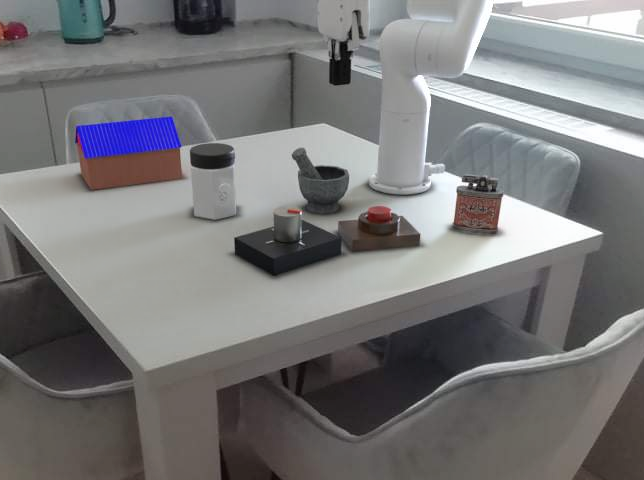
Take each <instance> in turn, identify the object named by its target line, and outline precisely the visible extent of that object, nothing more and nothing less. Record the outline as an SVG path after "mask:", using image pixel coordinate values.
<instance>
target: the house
mask: <svg viewBox="0 0 644 480" xmlns="http://www.w3.org/2000/svg"><path fill="white" fill-rule="evenodd" d="M74 144H76V147H77V155H78V161H79V168H80V174H81V176H82V178H83V180H84V181H85V183H86V184H87V186H88V187H89V189H90V191H94V190H102V189H110V188H117V187H126V186H131V185H132V186H133V185H139V184H140V185H141V184H150V183H155V182H157V183H158V182H164V181H173V180H179V179H183V172H182V171H183V169H182V158H181V148H182V144H181V141H180V137H179V134H178V131H177V128H176V124H175V121H174V119H173V116H162V117H153V118H142V119H133V120H132V119H131V120H121V121H111V122H101V123H93V124H83V125H76V126H75V139H74Z"/></svg>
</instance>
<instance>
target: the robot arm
mask: <svg viewBox="0 0 644 480" xmlns="http://www.w3.org/2000/svg"><path fill="white" fill-rule="evenodd" d="M493 3H494V0H406V12H407V15H408V17H409V18H401V19H396V20H393V21H391V22H389V23H388V24H387V25H386V26H385V27H384V28H383V30H382V32H381V34H380V37H379V45H378V46H379V47H378V49H379V59H380V70H381V102H380V120H379V135H378V136H379V137H378V138H379V139H378V151H377V153H378V154H377V170H376V173H374V174H373V175H371V176H370V177H369V181H368V184H369V186H370V188H372V189H373V190H375V191H378V192H381V193H384V194H388V195H389V194H390V195H401V196H402V195H403V196H405V195H414V194H415V195H416V194H420V193H424V192H426V191H428V190H429V189H430V188H431V183H432V182H431V179H430V178H429V177H431V176H432V175H434V174H435V175H438V174H444V173H445V171H446V165H445V164H444V163H436V164H433V162H431V161H430V162H426V155H427V143H428V132H429V121H430V112H431V111H430V110H431V94H430V93H431V92H430V89H429V88H428V87H429V86H428V85H427V82H426V80H425V78H424V77H433V78H441V79H456V78H460V77H461V76H462V75H463V74H464V73H465V72H466V70H467V69H468V68H469V66H470V63H471V61H472V60H473V57H474V54H475V53H476V50H477V47H478V45H479V43H480V40H481V38H482V35H483V33H484V31H485V29H486V27H487V23H488V21H489V18H490V16H491V13H492V8H493ZM370 21H371V0H317V30H318V32H319V33H320V34H321V35H322V39H323V41H324V43H326V45H327V56H328V58H329V62H328V63H329V64H328V65H329V66H328V67H329V68H328V83H329V84H330V85H332V86H334V87H335V86H346V85H350V84H351V80H352V60H353V58H354V52H355V51H358V50H360V47H361V46H360V40H361V41H365V40H368V39H369V36H370V29H371V28H370V27H371V26H370V25H371V24H370V23H371V22H370Z"/></svg>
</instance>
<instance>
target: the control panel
mask: <svg viewBox="0 0 644 480" xmlns="http://www.w3.org/2000/svg"><path fill="white" fill-rule="evenodd" d="M342 240H343V239H342V237H341V236H340V235H337V234H334V233H332V232H331V231H329V230H326V229H324V228H321V227H319V226H317V225H315V224H313V223H310V222H308V221H306V220H304V219H302V238H301V239H300V240H298V241H295V242H280V241H277V240H275V239H274V225H273V226H271V227H267V228H262V229H259V230H255V231H252V232H248V233H245V234H241V235H238V236H234V237H233V241H234V255H236V256H237V257H239V258H241V259H242V260H244V261H246V262H248V263H249V264H252V265H253V266H255V267H257V268H258V269H260V270H262V271H264V272H265V273H268V274H269V275H270V276H272V277H276V276H279V275H282V274H284V273H287V272H290V271H294V270H297V269H300V268H303V267H307V266H309V265H312V264H315V263H318V262H321V261H324V260H327V259H332V258H334V257H337V256H340V255H342Z"/></svg>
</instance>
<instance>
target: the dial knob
mask: <svg viewBox="0 0 644 480" xmlns="http://www.w3.org/2000/svg"><path fill="white" fill-rule="evenodd" d="M302 220H303V211H302V209H301V208H300V207H297V206H290V205H289V206H280V207H276V208H274V210H273V226H274V239H275V240H277V241H280V242H295V241H298V240H300V239H301V238H302Z"/></svg>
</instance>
